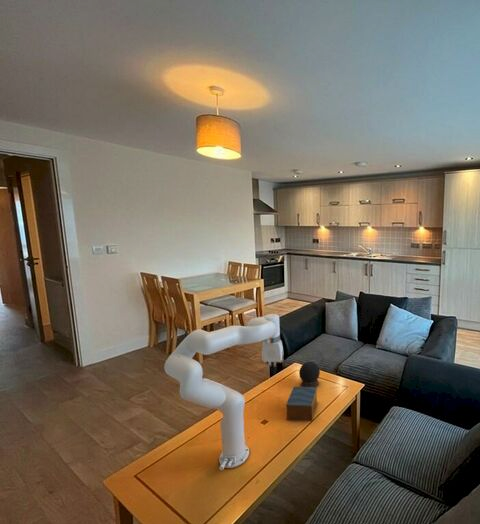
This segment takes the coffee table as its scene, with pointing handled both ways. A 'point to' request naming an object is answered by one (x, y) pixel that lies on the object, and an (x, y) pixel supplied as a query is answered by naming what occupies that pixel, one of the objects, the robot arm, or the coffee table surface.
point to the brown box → (302, 411)
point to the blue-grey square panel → (301, 396)
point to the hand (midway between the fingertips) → (273, 372)
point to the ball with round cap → (309, 374)
